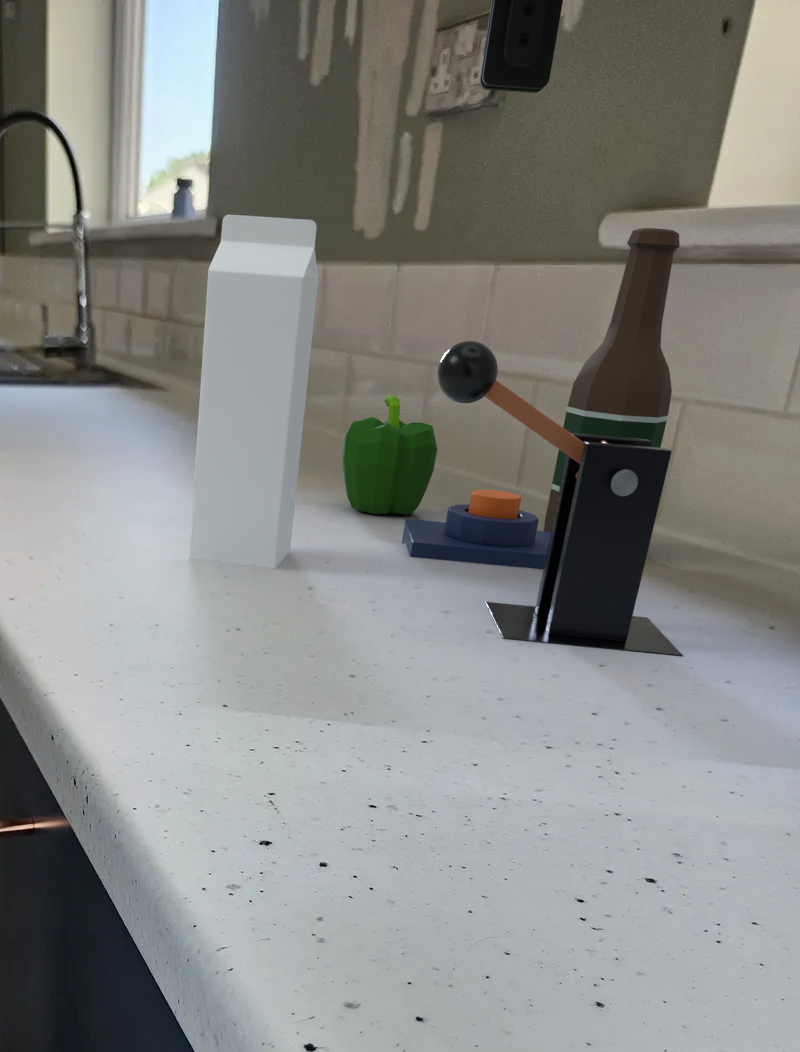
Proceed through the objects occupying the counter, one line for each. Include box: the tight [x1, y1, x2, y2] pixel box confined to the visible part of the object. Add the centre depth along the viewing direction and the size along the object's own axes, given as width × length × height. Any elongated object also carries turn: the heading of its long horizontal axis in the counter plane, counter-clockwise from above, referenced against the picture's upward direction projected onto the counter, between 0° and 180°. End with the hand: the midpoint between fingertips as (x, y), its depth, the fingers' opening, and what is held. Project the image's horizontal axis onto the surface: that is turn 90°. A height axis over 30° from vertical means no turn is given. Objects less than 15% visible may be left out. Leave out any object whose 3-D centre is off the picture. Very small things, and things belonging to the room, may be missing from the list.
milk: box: [188, 214, 319, 570], centre depth 74 cm, size 6×6×22 cm
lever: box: [437, 340, 608, 478], centre depth 62 cm, size 13×3×3 cm, turn 83°
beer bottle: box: [543, 227, 681, 532], centre depth 90 cm, size 8×8×24 cm
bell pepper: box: [341, 394, 438, 516], centre depth 101 cm, size 8×8×10 cm
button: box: [468, 489, 522, 519], centre depth 84 cm, size 4×4×2 cm
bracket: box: [485, 433, 684, 658], centre depth 65 cm, size 10×8×12 cm
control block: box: [401, 503, 551, 570], centre depth 85 cm, size 12×9×4 cm
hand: (512, 87), depth 56 cm, fingers closed
